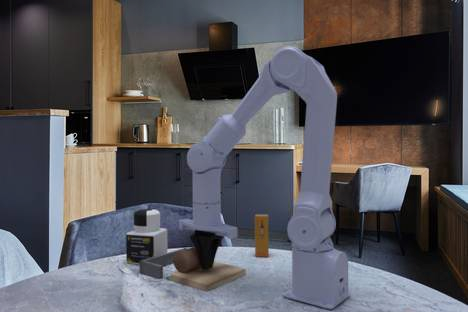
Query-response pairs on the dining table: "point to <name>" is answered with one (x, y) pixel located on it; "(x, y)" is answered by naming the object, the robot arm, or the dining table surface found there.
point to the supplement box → (261, 236)
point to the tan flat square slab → (208, 276)
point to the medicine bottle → (146, 237)
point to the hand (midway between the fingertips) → (207, 268)
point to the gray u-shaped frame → (157, 264)
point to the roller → (186, 260)
